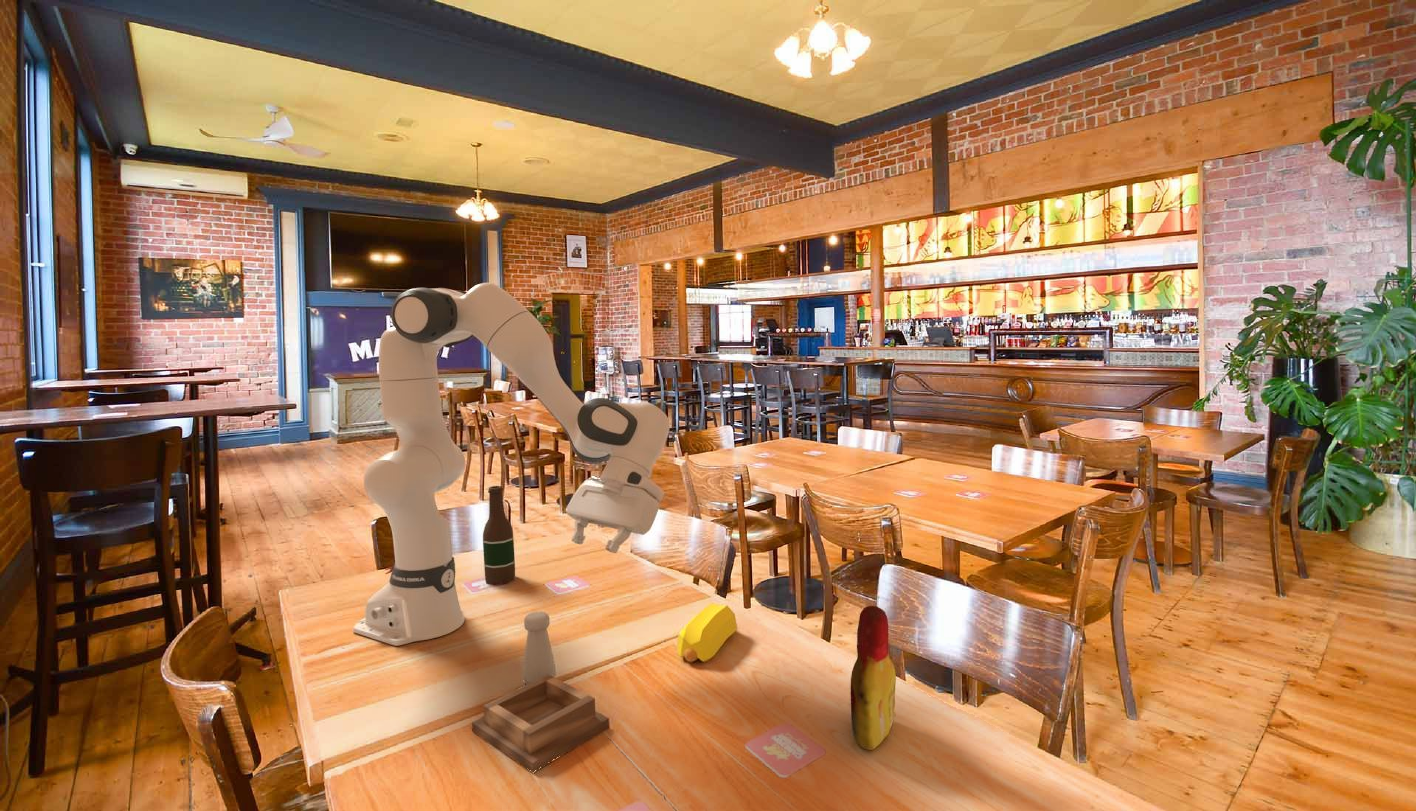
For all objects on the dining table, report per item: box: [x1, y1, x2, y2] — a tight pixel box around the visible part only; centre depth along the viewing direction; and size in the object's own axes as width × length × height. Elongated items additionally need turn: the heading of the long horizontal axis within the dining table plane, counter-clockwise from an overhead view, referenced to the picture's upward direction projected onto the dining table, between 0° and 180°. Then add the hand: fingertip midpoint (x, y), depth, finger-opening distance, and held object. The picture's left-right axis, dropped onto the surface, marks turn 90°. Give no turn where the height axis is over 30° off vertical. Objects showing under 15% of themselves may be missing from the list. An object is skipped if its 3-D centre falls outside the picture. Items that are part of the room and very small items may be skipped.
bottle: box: [849, 605, 897, 751], centre depth 99 cm, size 12×6×20 cm, turn 152°
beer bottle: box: [482, 485, 516, 586], centre depth 168 cm, size 8×8×24 cm
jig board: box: [471, 675, 610, 773], centre depth 103 cm, size 16×14×4 cm
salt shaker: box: [521, 611, 557, 685], centre depth 116 cm, size 6×6×13 cm
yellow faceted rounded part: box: [676, 602, 738, 663], centre depth 130 cm, size 18×7×8 cm
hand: (592, 547), depth 123 cm, fingers open, 8 cm apart
